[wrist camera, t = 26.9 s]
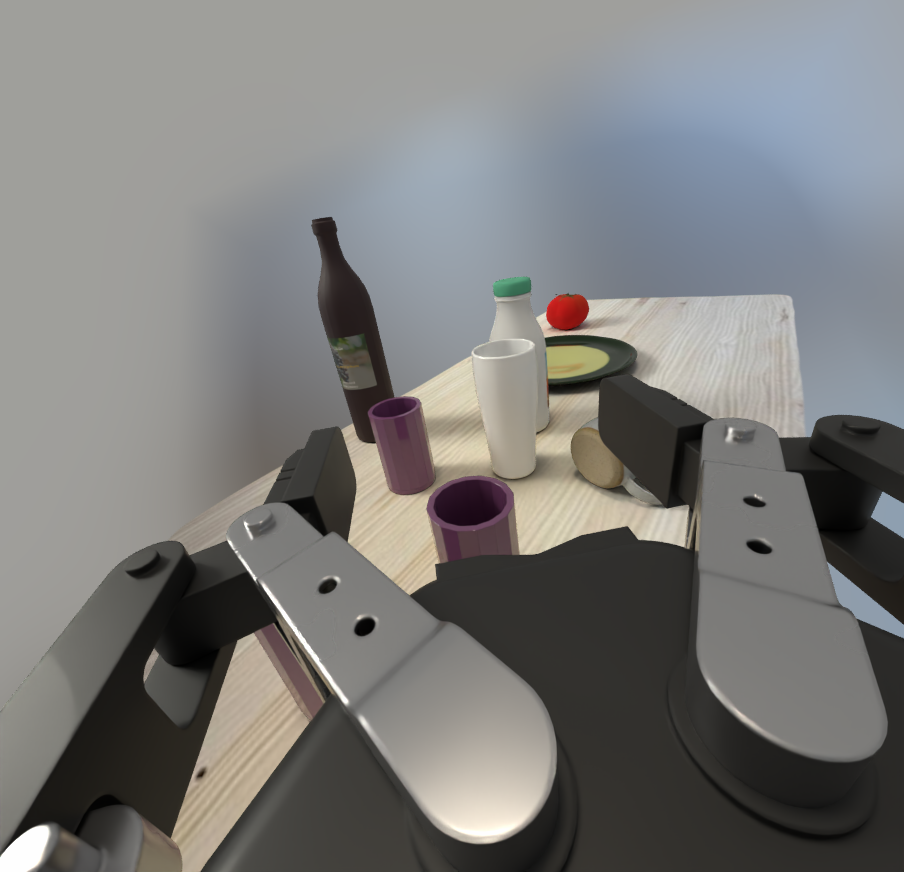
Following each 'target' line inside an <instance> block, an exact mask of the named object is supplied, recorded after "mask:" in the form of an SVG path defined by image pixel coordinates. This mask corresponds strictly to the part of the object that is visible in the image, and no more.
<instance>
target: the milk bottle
mask: <svg viewBox="0 0 904 872" xmlns="http://www.w3.org/2000/svg"><path fill="white" fill-rule="evenodd" d="M493 290H494V295H495V301H496V302H497V312H496V318H495V322H494V326H493V328H492V332H491V335H490V340H489V342H491V341H496V340H503V339H526V340H530V341H532V342H534V343H535V345H536V355H537V366H538V401H537V425H536V432H539V431H541V430H543V429H544V428H546V426H547V425H548V423H549V391H548V369H547V353H546V344H545V338H544V335H543V332H542V329H541V327H540V325H539V323H538V322H537V320H536V318H535V316H534V313H533V311H532V308H531V304H530V296H531V295H532V294H531V280H530V278H529V277H515V278H508V279H503V280H499V281H496V282H495V283H494V285H493Z"/></svg>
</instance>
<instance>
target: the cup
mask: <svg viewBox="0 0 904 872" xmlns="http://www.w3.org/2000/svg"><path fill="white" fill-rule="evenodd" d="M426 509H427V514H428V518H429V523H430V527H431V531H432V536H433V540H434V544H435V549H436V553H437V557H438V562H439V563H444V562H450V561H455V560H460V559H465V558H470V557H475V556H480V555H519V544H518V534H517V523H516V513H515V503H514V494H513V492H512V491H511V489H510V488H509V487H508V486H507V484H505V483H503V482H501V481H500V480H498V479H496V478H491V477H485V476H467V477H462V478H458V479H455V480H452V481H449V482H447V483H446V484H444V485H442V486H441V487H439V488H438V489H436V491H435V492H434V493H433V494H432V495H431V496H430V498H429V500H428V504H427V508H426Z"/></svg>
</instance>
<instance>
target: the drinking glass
mask: <svg viewBox="0 0 904 872" xmlns="http://www.w3.org/2000/svg"><path fill="white" fill-rule="evenodd" d="M472 365H473V375H474V382H475V389H476V394H477V398H478V403H479V407H480V412H481V416H482V421H483V425H484V430H485V434H486V439H487V443H488V448H489V453H490V459H491V466H492V469H493V471H494V472H495V474H497V475H498V476H500V477H503V478H507V479H518V478H522V477H525V476H527V475H529V474H531V473H532V472H533V471H534V469H535V467H536V425H537V401H538V366H537V355H536V345H535V343H534V342H532V341H530V340H526V339H503V340H496V341H491V342H488V343H484V344H482V345H479V346H478V347H476V348H474V349H473V351H472Z"/></svg>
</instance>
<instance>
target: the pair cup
mask: <svg viewBox="0 0 904 872" xmlns="http://www.w3.org/2000/svg"><path fill="white" fill-rule="evenodd" d="M254 634H255V635H256V637H257V639H258V640H259V642H260V644H261V645H262V647H263V648H264V650H265V652H266V653H267V655H268V657H269V658H270V660H271V662H272V663H273V665H274V667H275V668H276V670H277V672H278V673H279V675H280V677H281V678H282V680H283V682H284V683H285V685H286V687H287V688H288V690H289V691H290V693H291V695H292V696H293V698H294V700H295V701H296V703H297V705H298V706H299V708H300V710H301V711H302V712H303V713H304V715H305V716H306V717H307V718H308V719H309V720H312V719H313V717H314V716H315V715H316V713H317V712H318V711H319V709H320V708H321V707H322V705H323V702H322V700H321V699H320V697H319V695H318V694H317V692H316V690H315V688H314V687H313V685H312V683H311V682H310V680H309V679H308V677H307V675H306V674H305V672H304V671H303V669H302V668H301V666H300V665H299V663H298V662H297V660H296V659H295V657H294V655H293V654H292V652H291V651H290V649H289V648H288V646H287V645H286V643H285V642H284V640H283V639H282V637H281V635H280V634H279V632H278V631H277V629H276V628H275V626H274V624H271V625H269V626H267V627H264V628H262V629H260V630H258V631H256V632H254Z"/></svg>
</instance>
